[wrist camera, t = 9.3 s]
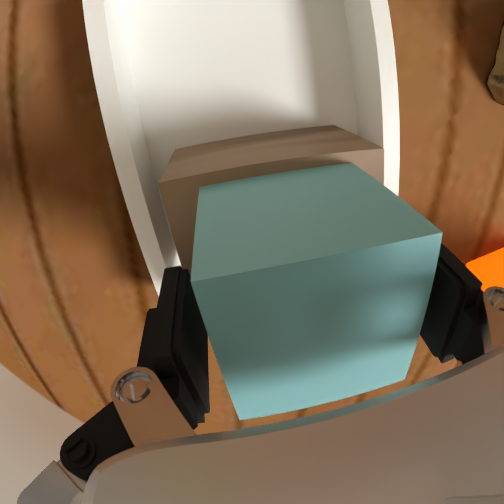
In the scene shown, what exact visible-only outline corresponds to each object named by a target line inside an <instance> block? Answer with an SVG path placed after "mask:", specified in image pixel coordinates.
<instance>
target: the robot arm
mask: <svg viewBox="0 0 504 504" xmlns="http://www.w3.org/2000/svg"><path fill="white" fill-rule="evenodd" d="M481 287H482V282H481V281H480V280H479V279H478V278H477V277H476V276H475V275H474V274H473V273H472V272H471V271H470V270H469V269H468V268H467V267H466V266H465V265H464V264H463V263H462V262H461V261H460V260H459V259H458V258H457V257H456V256H455V255H454V254H453V253H452V252H450V251H449V250H448V249H447V248H446V247H445V246H444V245H443V244H442V243H441V245H440V251H439V256H438V261H437V266H436V271H435V276H434V280H433V285H432V289H431V293H430V297H429V301H428V305H427V309H426V313H425V317H424V320H423V324H422V327H421V331H420V335H421V337H422V338H423V340H424V341H425V343H426V345H427V346H428V348H429V349H430V351H431V352H432V354H433V355H434V356H435V357H438V358H439V360H440V361H441V363H444V362H447V361H449V360H452V359H453V358H454V357H455V358H456V360H457V367H456V368H454V369H451V370H449V371H447V372H444V373H442V374H439V375H437V376H435V377H432V378H430V379H427V380H424V381H422V382H419V383H417V384H414V385H411V386H409V387H406V388H403V389H400V390H397V391H394V392H392V393H389V394H386V395H383V396H379V397H376V398H373V399H370V400H367V401H363V402H360V403H357V404H353V405H350V406H346V407H343V408H339V409H335V410H331V411H327V412H324V413H319V414H315V415H311V416H307V417H302V418H298V419H293V420H288V421H284V422H278V423H273V424H268V425H262V426H256V427H250V428H244V429H238V430H232V431H225V432H217V433H209V434H201V435H196V433H195V432H194V431H193V430H194V429H195V428H196V427H197V426H198V423H205V419H204V413H209V411H210V404H209V376H208V335H207V330H206V327H205V324H204V321H203V318H202V315H201V312H200V309H199V306H198V303H197V300H196V297H195V294H194V291H193V288H192V285H191V277H190V274H189V271H188V269H182V267H181V266H175V267H169V268H165V269H164V273H163V278H162V283H161V288H160V294H159V299H158V304H157V308H152V309H149V310H148V312H147V316H146V321H145V326H144V331H143V336H142V341H141V347H140V352H139V358H138V364H137V367H133V368H130V369H127V370H125V371H123V372H122V373H120V374H119V375H118V376H117V377H116V379H115V380H114V381H113V383H112V386H111V391H110V393H111V398H112V400H113V401H112V402H110V403H109V404H108V405H107V406H106V407H104V408H103V409H102V410H101V411H99V412H98V413H97V414H96V415H95V416H93V417H92V418H91V419H90V420H88V421H87V422H86V423H85V424H83V425H82V426H81V427H80V428H78V429H77V430H76V431H75V432H73V433H72V434H71V435H70V436H69V437H68V438H67V439H66V440H65V441H64V443H63V445H62V446H61V451H60V460H59V461H58V462H56V461H52V462H51V463H50V464H49V465H48V466H47V467H46V468H45V469H44V470H43V471H42V472H41V473H40V474H39V475H38V476H37V477H36V478H35V479H34V480H33V481H32V483H30V485H28V486H27V487H26V488H25V489H24V490H23V491H22V492H21V494H20V495H19V497H18V500H17V504H504V288H503V287H499V286H492V287H488V288H487V289H486V290H485V291H484V292H483V291H482V290H481Z"/></svg>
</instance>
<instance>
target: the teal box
mask: <svg viewBox="0 0 504 504" xmlns="http://www.w3.org/2000/svg"><path fill="white" fill-rule="evenodd" d="M442 233H443V232H442V231H441V230H439V229H438V228H437V227H436V226H435V225H433V224H432V223H431V222H430V221H429V220H427V219H426V218H425V217H424V216H423V215H421V214H420V213H419V212H418V211H416V210H415V209H414V208H413V207H411V206H410V205H409V204H408V203H406V202H405V201H404V200H402V199H401V198H400V197H398V196H397V195H396V194H395V193H393V192H392V191H391V190H389V189H388V188H387V187H385V186H384V185H383V184H381V183H380V182H378V181H377V180H376V179H374V178H373V177H372V176H370V175H369V174H367V173H366V172H364V171H363V170H362V169H360V168H359V167H357V166H356V165H354V164H353V163H345V164H337V165H329V166H322V167H314V168H307V169H300V170H293V171H287V172H280V173H274V174H268V175H262V176H256V177H250V178H244V179H239V180H233V181H228V182H222V183H217V184H212V185H207V186H202V187H199V196H198V205H197V214H196V224H195V235H194V246H193V257H192V269H191V285H192V288H193V291H194V294H195V297H196V300H197V303H198V306H199V309H200V312H201V315H202V318H203V321H204V324H205V327H206V330H207V333H208V336H209V339H210V342H211V345H212V348H213V350H214V353H215V356H216V359H217V362H218V364H219V367H220V370H221V373H222V375H223V378H224V381H225V383H226V386H227V389H228V391H229V394H230V396H231V399H232V402H233V404H234V407H235V409H236V412H237V414H238V417H239V420H244V419H250V418H256V417H262V416H268V415H273V414H279V413H284V412H289V411H294V410H298V409H303V408H307V407H312V406H316V405H320V404H324V403H328V402H332V401H336V400H340V399H343V398H347V397H351V396H354V395H358V394H361V393H364V392H368V391H371V390H374V389H377V388H380V387H383V386H387V385H390V384H393V383H395V382H398V381H401V380H404V379H405V377H406V374H407V371H408V368H409V365H410V362H411V359H412V356H413V353H414V350H415V347H416V344H417V341H418V338H419V334H420V331H421V327H422V324H423V320H424V317H425V313H426V309H427V305H428V301H429V297H430V293H431V289H432V285H433V280H434V276H435V271H436V266H437V261H438V256H439V251H440V245H441V240H442Z"/></svg>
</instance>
